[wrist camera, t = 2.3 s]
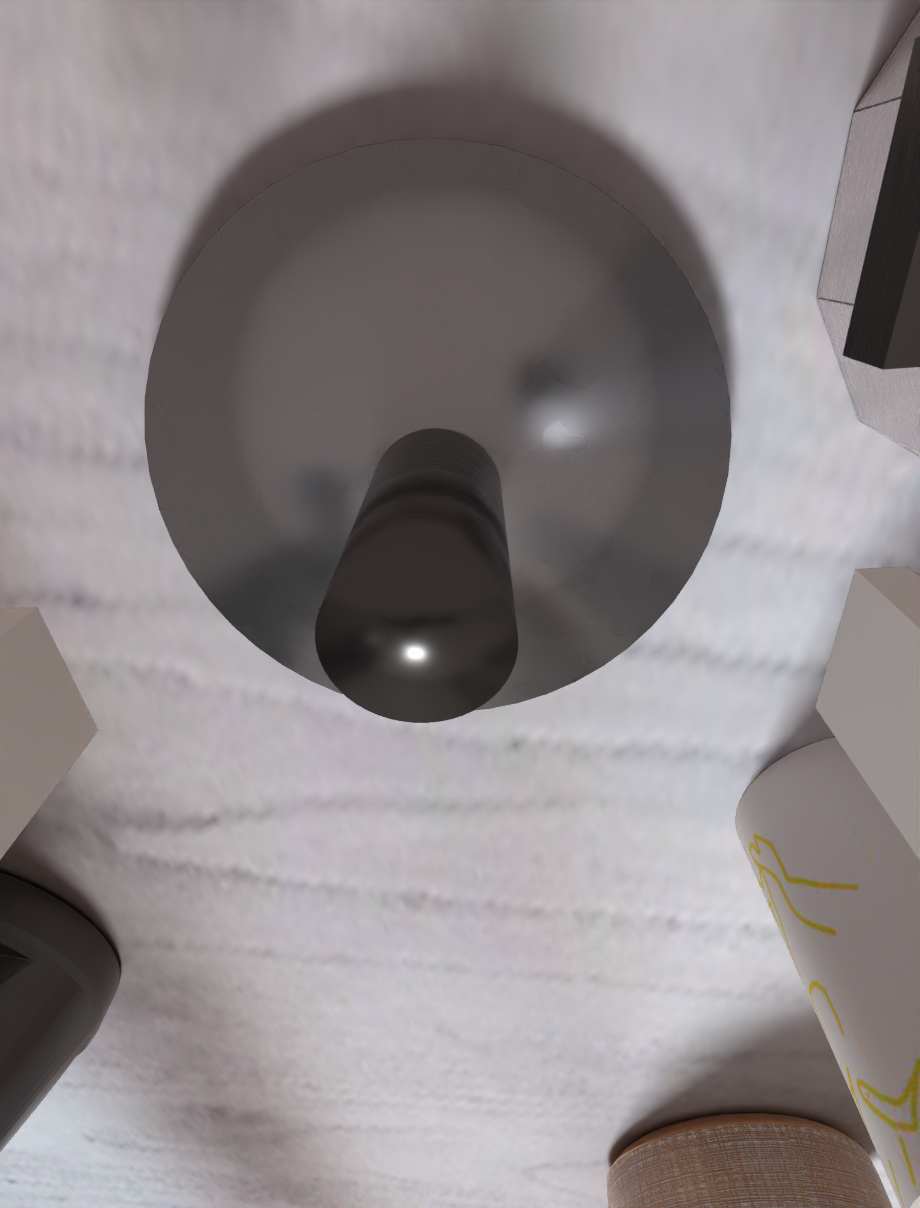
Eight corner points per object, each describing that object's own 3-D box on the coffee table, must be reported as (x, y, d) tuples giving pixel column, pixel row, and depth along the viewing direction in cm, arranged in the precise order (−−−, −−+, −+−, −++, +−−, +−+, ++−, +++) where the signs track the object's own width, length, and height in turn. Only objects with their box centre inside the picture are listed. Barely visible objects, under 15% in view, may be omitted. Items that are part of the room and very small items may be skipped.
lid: (245, 694, 23) (132, 925, 16) (80, 176, 15) (-330, 122, 7) (680, 674, 22) (789, 907, 15) (757, 115, 14) (1093, -20, 7)
